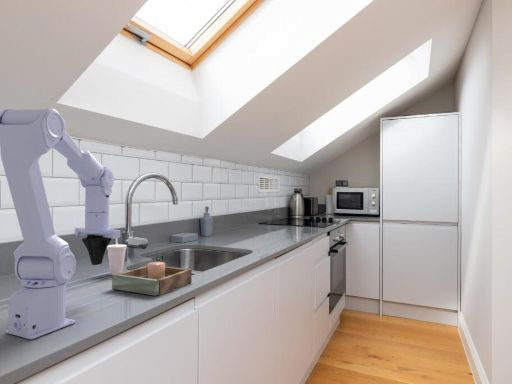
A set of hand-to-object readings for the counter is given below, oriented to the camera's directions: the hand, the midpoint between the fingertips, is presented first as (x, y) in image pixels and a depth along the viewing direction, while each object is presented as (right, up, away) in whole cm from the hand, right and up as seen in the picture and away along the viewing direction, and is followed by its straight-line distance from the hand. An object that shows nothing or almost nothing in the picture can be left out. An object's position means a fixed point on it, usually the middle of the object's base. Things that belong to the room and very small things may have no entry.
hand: (96, 264), depth 89 cm
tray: (+11, -9, +11) cm, 18 cm away
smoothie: (-6, -9, +26) cm, 28 cm away
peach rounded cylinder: (+12, -8, +14) cm, 19 cm away
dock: (+11, -9, +12) cm, 19 cm away
